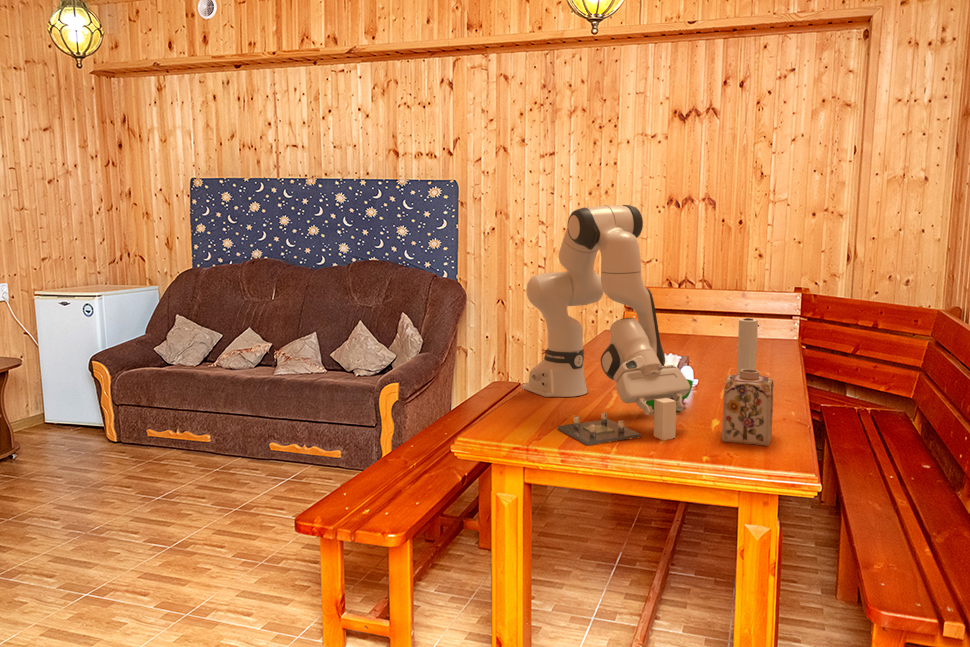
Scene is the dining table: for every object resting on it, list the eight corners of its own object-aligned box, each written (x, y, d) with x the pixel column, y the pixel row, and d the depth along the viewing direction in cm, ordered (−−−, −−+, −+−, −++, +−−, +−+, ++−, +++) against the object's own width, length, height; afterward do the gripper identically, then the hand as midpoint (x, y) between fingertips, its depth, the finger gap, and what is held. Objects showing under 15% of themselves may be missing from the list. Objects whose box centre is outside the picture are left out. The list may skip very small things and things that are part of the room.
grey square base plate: (557, 429, 221) (557, 415, 220) (608, 422, 227) (608, 408, 226) (587, 445, 206) (587, 430, 205) (640, 437, 212) (641, 422, 212)
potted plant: (650, 429, 234) (665, 408, 267) (702, 404, 229) (711, 386, 262) (630, 391, 235) (647, 375, 268) (681, 365, 230) (692, 352, 263)
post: (653, 436, 213) (654, 399, 212) (666, 434, 215) (667, 397, 213) (662, 440, 210) (663, 402, 208) (675, 438, 211) (676, 401, 210)
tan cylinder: (749, 384, 269) (751, 321, 266) (733, 381, 274) (735, 319, 270) (760, 381, 274) (763, 318, 270) (744, 378, 278) (746, 316, 275)
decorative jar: (726, 429, 218) (728, 364, 216) (772, 434, 214) (775, 367, 211) (721, 442, 208) (723, 373, 205) (769, 447, 203) (772, 377, 200)
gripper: (671, 371, 225) (692, 413, 217) (607, 378, 217) (627, 422, 210) (681, 357, 220) (703, 400, 213) (616, 364, 212) (637, 409, 205)
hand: (665, 411), depth 211 cm, fingers open, 8 cm apart
